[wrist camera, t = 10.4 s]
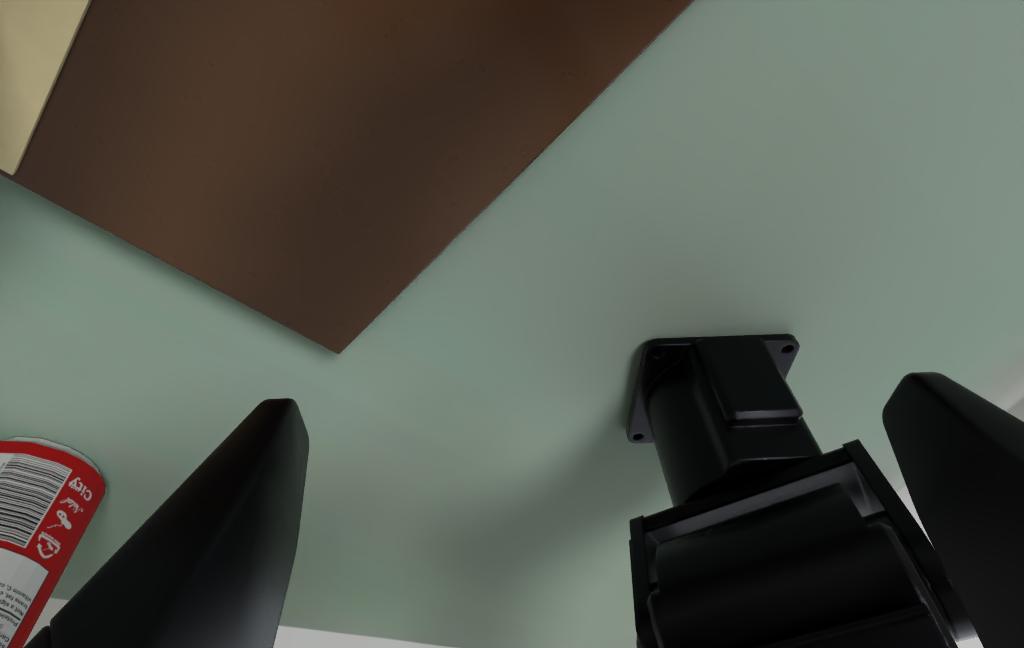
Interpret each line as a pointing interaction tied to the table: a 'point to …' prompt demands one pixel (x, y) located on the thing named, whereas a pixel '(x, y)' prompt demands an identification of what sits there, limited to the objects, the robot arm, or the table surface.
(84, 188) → the board
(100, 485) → the soda can
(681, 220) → the table surface
